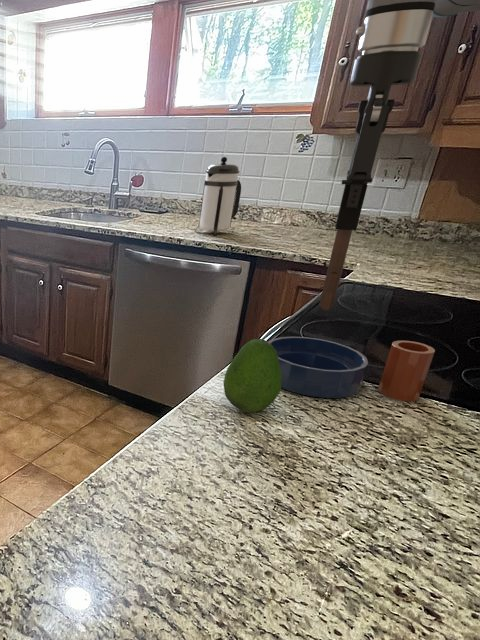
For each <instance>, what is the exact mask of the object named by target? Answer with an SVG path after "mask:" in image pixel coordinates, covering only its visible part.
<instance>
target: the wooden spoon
mask: <svg viewBox="0 0 480 640" xmlns="http://www.w3.org/2000/svg"><path fill="white" fill-rule="evenodd" d="M352 234H353V230H340V229H336V233H335V238H334V242H333V245H332V249H331V254H330V257H329V262H328V266H327V269H326V270H327V271H326V274H325V279H324V283H323V287H322V291H321V295H320V301H319V304H318V308H320V309H322V310H323V311H329V310H332V309H334V305H335V301H336V298H337V294H338V290H339V285H340V282H341V277H342V273H343V269H344V265H345V261H346V258H347V253H348V250H349V246H350V241H351V238H352Z"/></svg>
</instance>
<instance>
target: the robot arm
mask: <svg viewBox="0 0 480 640" xmlns="http://www.w3.org/2000/svg"><path fill="white" fill-rule="evenodd" d="M469 12H471V13H472V12H480V0H368V2H367V7H366V11H365V15H364V21H363V25H364V26H359V27H358V28H357V29H356V31H355V34H356V35H357V36H361V37H360V38H359V41H358V48H357V50H358V52H359V53H361V55H359V56H357V57H356V58H355V59H354V63H353V67H352V71H351V76H350V81H349V84H350V85H351V86H352V87H357V88H359V87H360V88H361V87H364V88H365V87H369V91H368V95H367V98H366V99H363V100H360V101H359V103H358V104H359V105H358V108H357V114H358V117H357V121H356V126H355V134H356V139H355V143H354V148H353V151H352V157H351V161H350V165H349V168H348V170H347V173H346V179H342V180H341V182H340V183H341V185H344V188H343V192H342V195H341V201H340V206H339V209H338V214H337V218H336V222H335V227H334V229H335V230H337V229H340V230H352V231H357V229H358V225H359V220H360V217H361V213H362V209H363V205H364V200H365V197H366V193H367V189H368V185H369V184H368V183H372V182H373V177H372V171H373V167H374V164H375V160H376V156H377V152H378V147H379V144H380V141H381V136H382V134H383V133H385V131H386V128H387V123H388V119H389V115H390V113H391V112H392V111H393V109H394V104H395V98H390V99H389V97H390V92H391V88H392V86H401V85H402V86H403V85H408V84H411V83H413V82H415V80H416V77H417V75H418V74H417V73H418V70H419V66H420V62H421V60H422V59H421V58H422V54H421V52H420V51H419V49H421V48H423V47H424V46H425V45H426V42H427V39H428V34H429V32H430V27H431V23H432V19H433V18H446V17H450V18H451V17H454V16H456V15H458V14H461V13H469Z"/></svg>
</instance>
